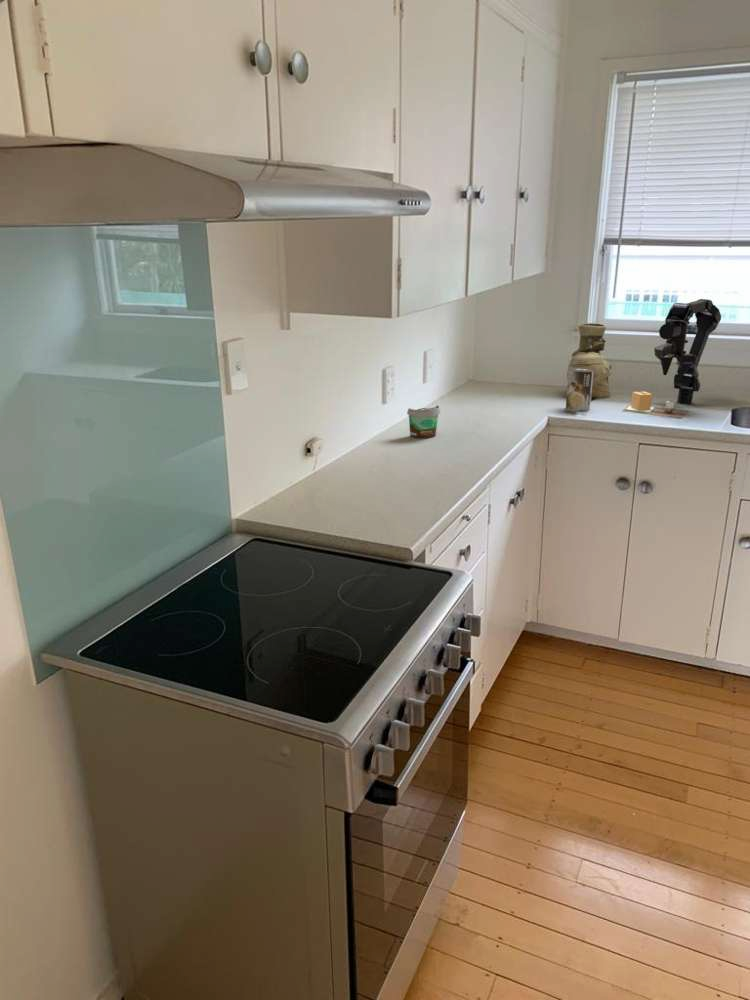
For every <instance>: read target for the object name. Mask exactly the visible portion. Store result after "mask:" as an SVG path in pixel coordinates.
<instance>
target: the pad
mask: <svg viewBox="0 0 750 1000" xmlns="http://www.w3.org/2000/svg"><path fill="white" fill-rule="evenodd" d="M629 405H630V404H629ZM629 405H628V406H629ZM655 407H656V406H651V407H650V410H637V409H634V408H632V407H631V405H630V406H629V407H628V408H627V409H626V410H629V411H636V412H644V413H650V412H651V411H653V410H654V409H655Z"/></svg>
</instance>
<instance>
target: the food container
mask: <svg viewBox="0 0 750 1000" xmlns="http://www.w3.org/2000/svg"><path fill="white" fill-rule="evenodd" d="M435 406H436V407H421V408H418V409H413V408H410V407H408V409H407V412H406V415H408V424H409V437H411V438H415V439H422V440H423V439H432V438H435V437H436V435H437V428H438V419H439V415H441V408H440V405H438V404H436V405H435Z"/></svg>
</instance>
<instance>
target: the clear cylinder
mask: <svg viewBox="0 0 750 1000" xmlns="http://www.w3.org/2000/svg"><path fill="white" fill-rule="evenodd" d="M674 406H675V401H674V400H669V399H668V400H666V401H665V405H664V408H665V410H664V413H667V414H672V413H673V409H674Z"/></svg>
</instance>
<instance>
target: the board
mask: <svg viewBox="0 0 750 1000" xmlns="http://www.w3.org/2000/svg"><path fill="white" fill-rule="evenodd" d="M630 405H631V403H630V404H629V405H627V406H626V407H625V408H623V409H622V410H621V412H625V413H631V414H632V413H633V414H641V415H646V416H647V415H648V416H656V417H665V418H673V419H680V420H681V419H683V417H684V416H685V415H686V414H687V413H688V412H689V410H682V409H681V410H680V409H675V408H673V413H672V414H667V413H664V410H665V407H664V408H663V407H658V406H657V407H656V406H654V407H655V409H654V410H653V411H651V412H650V413H644V412H636V411H629V410H626V409H627V408H628V407H629V406H630Z"/></svg>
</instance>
